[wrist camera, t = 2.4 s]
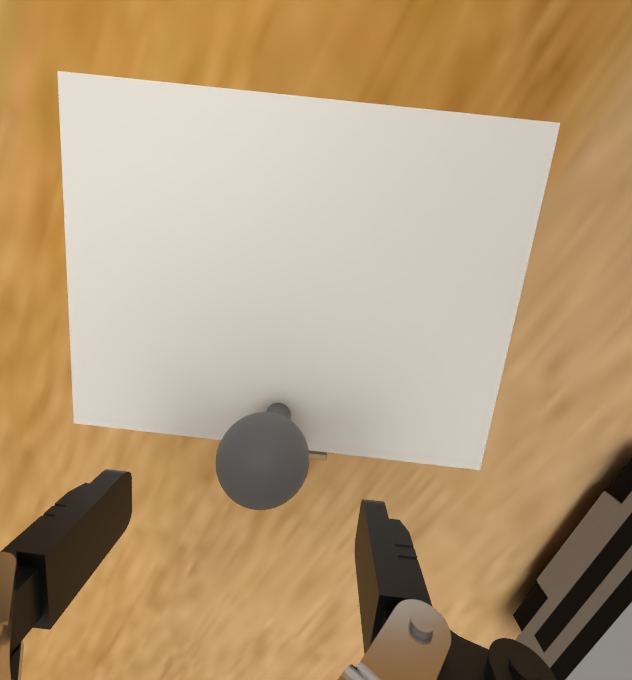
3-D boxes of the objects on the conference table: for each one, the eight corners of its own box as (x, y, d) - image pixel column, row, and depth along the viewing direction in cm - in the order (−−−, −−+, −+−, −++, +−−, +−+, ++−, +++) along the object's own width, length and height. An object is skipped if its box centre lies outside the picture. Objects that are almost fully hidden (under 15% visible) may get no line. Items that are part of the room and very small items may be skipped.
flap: (518, 148, 20) (715, 28, 10) (455, 446, 24) (548, 578, 14) (105, 105, 20) (-120, -56, 10) (112, 406, 24) (-44, 508, 14)
